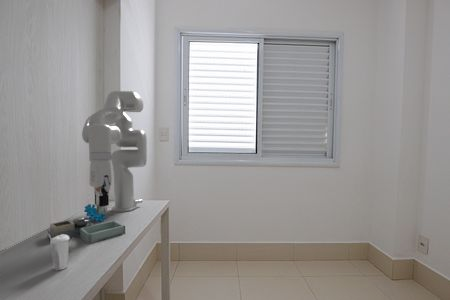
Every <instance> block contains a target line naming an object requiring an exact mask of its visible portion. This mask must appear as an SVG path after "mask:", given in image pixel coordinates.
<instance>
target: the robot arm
mask: <svg viewBox="0 0 450 300" xmlns="http://www.w3.org/2000/svg"><path fill="white" fill-rule="evenodd" d="M106 97H107V98H106V100H105V102H104V105H103V107H102V109H99V110H97V111H96V112H94V113H92V114H91V115H90V116H88V118H86V120H85V123H84V125H83V128H82V131H81V136H82V140H83V142H84V143H86V144H88V153H89V156H88V157H89V158H88V159H89V162H90V164H89V186H90V187H92V188H93V189H94V205H95V206H96V190H95V188H100V196H99V206H100V207H102V206H107V207H108V206H109V205H110V204H109V203H110V201H109V194H110V192H109V191H110V190H111V186H112V182H113V190H114V191H113V193H114V196H113V197H114V200H113V201H114V206H113V207H111V212H115V213H125V212H131V211H135V210H136V209H137V208H138V204H141V203H143V202H144V201H143V199H142V198H140V199H135V197H134V196H135V195H134V194H135V193H134V188H135V187H134V175H133V172H131V170H130V168H143V167H145V166H146V165H147V161H148V159H147V158H148V157H147V156H148V154H147V151H148V149H147V148H148V147H147V143H148V142H147V141H148V140H147V134H146V131H144V130H143V129H133V121H132V119H131V117H130V116H129V115H128V114H127V113H140V112H142V111H143V109H144V101H143V98H142V96H141V95H140V94H139V93H137V92H135V91H131V90H130V91H129V90H113V91H111V92H109V93H108V95H107V96H106ZM111 124H114V125H111ZM113 144H115V145H116V147H119V148H136V149H117V150H114V151H113V152H112V145H113ZM111 164H112V167H111ZM112 171H113V178H112ZM112 179H113V181H112ZM102 186H105V187H102ZM102 189H103V191H102Z"/></svg>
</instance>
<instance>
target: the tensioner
mask: <svg viewBox="0 0 450 300" xmlns="http://www.w3.org/2000/svg"><path fill="white" fill-rule="evenodd" d="M93 225H96V224H95V223H93V222H91V219H90V218H89V217H79V218H76V219H74V220H70V219H68V220H62V221H59V222H53V223H50V224H49V226H50V227H49V228H48V229H47V230H46V231H47V233H46V234H47V236H46V237H47V238H48V239H49V241H51V239H50V237H49V235H48V233H49V234H50V236H51V238H54V237H56V236H59V235H61V234H64V235H68V236H69V238H70V239H74V238H78V237H80V228H84V227H88V226H93Z"/></svg>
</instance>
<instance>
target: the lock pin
mask: <svg viewBox="0 0 450 300" xmlns="http://www.w3.org/2000/svg"><path fill="white" fill-rule="evenodd" d="M102 187H105V186H102ZM95 190H96V205H95V208H96V209H97V214H106V213H108V206H102V207H100V206H99V196H100V188H95V189H94V191H95ZM102 191H103V189H102Z"/></svg>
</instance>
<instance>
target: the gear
mask: <svg viewBox="0 0 450 300" xmlns="http://www.w3.org/2000/svg"><path fill="white" fill-rule="evenodd" d="M84 213H86V214H85V215H86V217H88V218H90V221H92V220H94V222H96V223H98V222H100V223H103V221H104V220H105V219H106V217H105V216H106V213H103V214H97V209H96V205H95V203H94V204H90V203H88V204H87V205H86V206H84Z"/></svg>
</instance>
